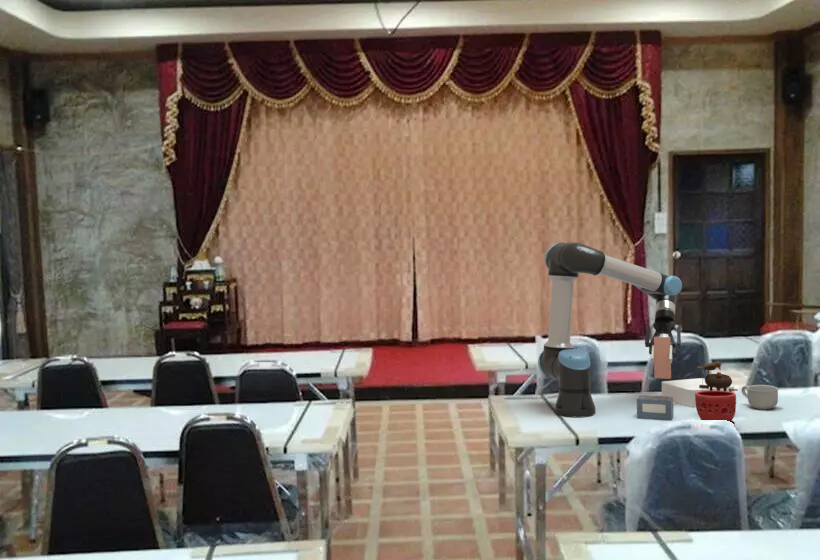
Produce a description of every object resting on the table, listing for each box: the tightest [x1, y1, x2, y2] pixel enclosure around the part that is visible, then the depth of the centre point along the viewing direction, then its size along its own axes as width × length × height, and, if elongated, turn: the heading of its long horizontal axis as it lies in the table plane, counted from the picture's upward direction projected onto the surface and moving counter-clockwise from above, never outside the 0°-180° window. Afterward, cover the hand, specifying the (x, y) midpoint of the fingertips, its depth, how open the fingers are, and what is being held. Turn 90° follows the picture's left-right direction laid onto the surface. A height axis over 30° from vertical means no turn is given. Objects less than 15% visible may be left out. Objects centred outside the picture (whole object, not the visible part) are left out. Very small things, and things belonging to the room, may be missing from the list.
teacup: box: [740, 384, 779, 410], centre depth 297 cm, size 14×11×8 cm
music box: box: [696, 360, 739, 407], centre depth 287 cm, size 15×11×20 cm
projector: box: [661, 377, 735, 408], centre depth 313 cm, size 21×22×7 cm
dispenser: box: [636, 394, 675, 421], centre depth 285 cm, size 12×8×7 cm
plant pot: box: [695, 391, 737, 426], centre depth 268 cm, size 13×13×12 cm
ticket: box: [653, 336, 672, 380], centre depth 303 cm, size 6×2×16 cm, turn 66°
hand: (661, 360), depth 300 cm, fingers closed on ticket, 6 cm apart
